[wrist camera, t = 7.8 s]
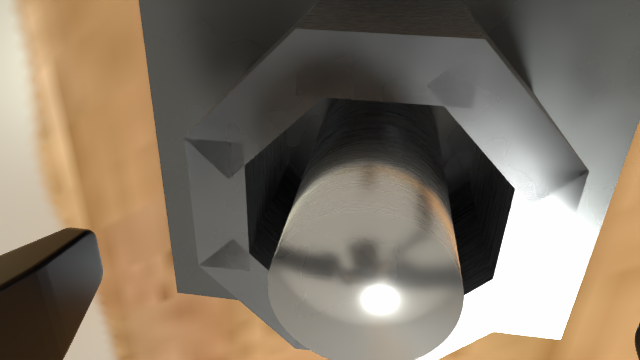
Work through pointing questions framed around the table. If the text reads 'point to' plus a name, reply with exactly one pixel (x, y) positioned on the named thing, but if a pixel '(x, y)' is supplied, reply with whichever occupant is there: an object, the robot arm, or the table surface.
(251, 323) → the table surface
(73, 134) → the table surface
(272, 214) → the octagonal metal collar
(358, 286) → the piston post
